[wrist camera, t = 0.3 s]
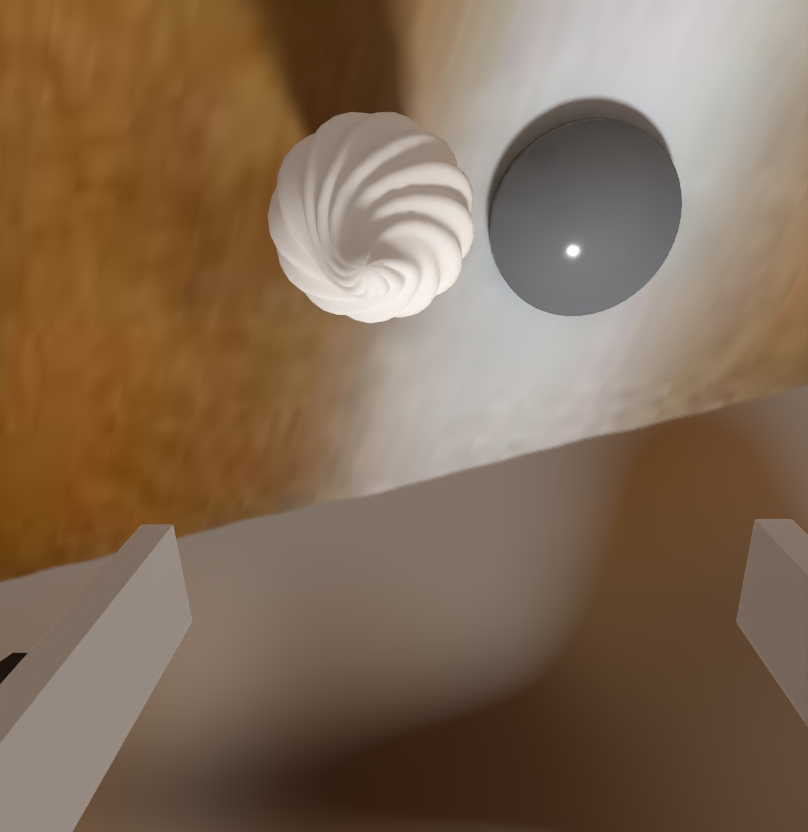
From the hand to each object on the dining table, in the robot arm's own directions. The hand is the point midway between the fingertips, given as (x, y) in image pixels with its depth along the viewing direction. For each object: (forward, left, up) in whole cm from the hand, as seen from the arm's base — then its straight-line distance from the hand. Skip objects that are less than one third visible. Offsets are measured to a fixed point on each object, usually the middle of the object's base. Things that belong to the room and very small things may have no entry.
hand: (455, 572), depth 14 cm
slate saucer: (-8, +8, -26) cm, 28 cm away
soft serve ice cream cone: (-3, -4, -26) cm, 27 cm away
